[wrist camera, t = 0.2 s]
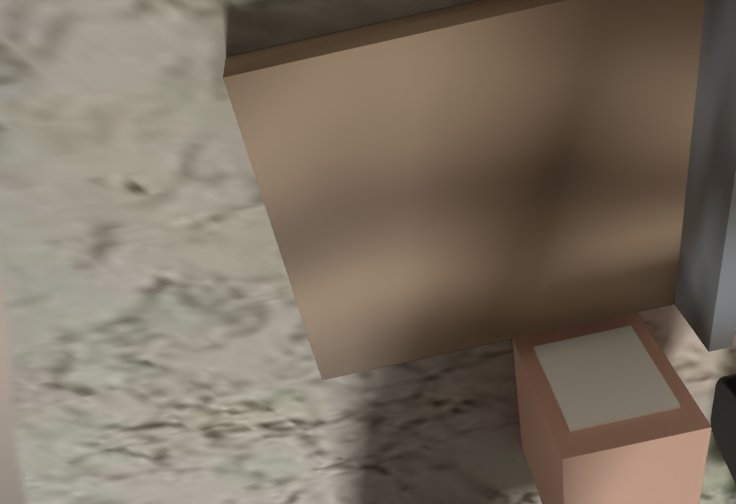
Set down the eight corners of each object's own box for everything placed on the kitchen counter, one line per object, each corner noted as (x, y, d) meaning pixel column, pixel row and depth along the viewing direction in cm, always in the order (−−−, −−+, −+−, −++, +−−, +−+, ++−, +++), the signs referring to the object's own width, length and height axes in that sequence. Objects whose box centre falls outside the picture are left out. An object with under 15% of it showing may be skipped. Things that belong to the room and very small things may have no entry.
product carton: (628, 421, 32) (692, 542, 27) (521, 445, 32) (565, 568, 27) (635, 305, 28) (712, 423, 23) (511, 332, 28) (562, 455, 23)
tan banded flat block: (682, 273, 27) (738, 345, 24) (320, 351, 27) (326, 433, 24) (716, -54, 20) (803, -14, 17) (225, 57, 20) (217, 117, 17)
